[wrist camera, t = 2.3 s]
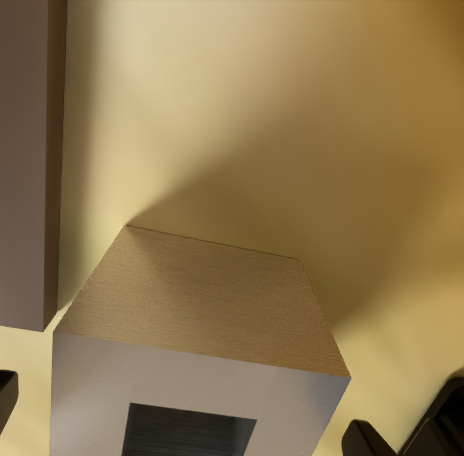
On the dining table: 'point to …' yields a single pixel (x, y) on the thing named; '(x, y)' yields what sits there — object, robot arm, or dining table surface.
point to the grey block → (192, 354)
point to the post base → (30, 158)
